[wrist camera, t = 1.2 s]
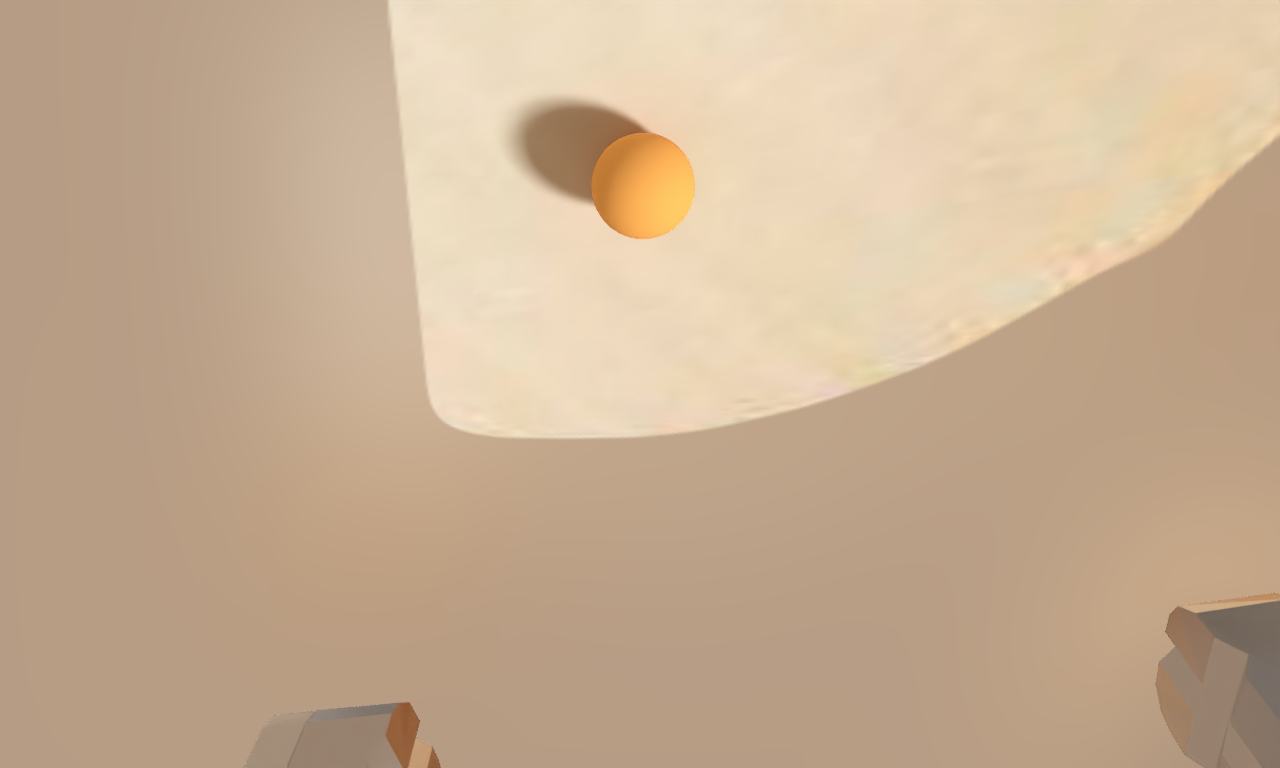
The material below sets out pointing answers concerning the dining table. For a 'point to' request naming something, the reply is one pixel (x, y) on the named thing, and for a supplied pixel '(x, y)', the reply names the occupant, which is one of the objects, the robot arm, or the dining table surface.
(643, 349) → the dining table surface
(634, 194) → the ball
